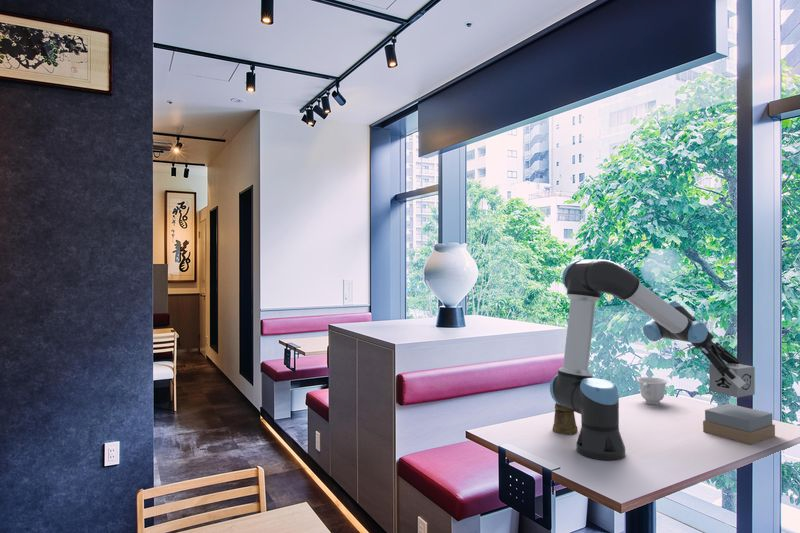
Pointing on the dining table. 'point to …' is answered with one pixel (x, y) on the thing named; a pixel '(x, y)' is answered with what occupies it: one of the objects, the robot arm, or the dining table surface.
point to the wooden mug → (564, 421)
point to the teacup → (652, 389)
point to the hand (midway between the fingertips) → (747, 383)
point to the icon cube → (726, 386)
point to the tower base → (739, 433)
